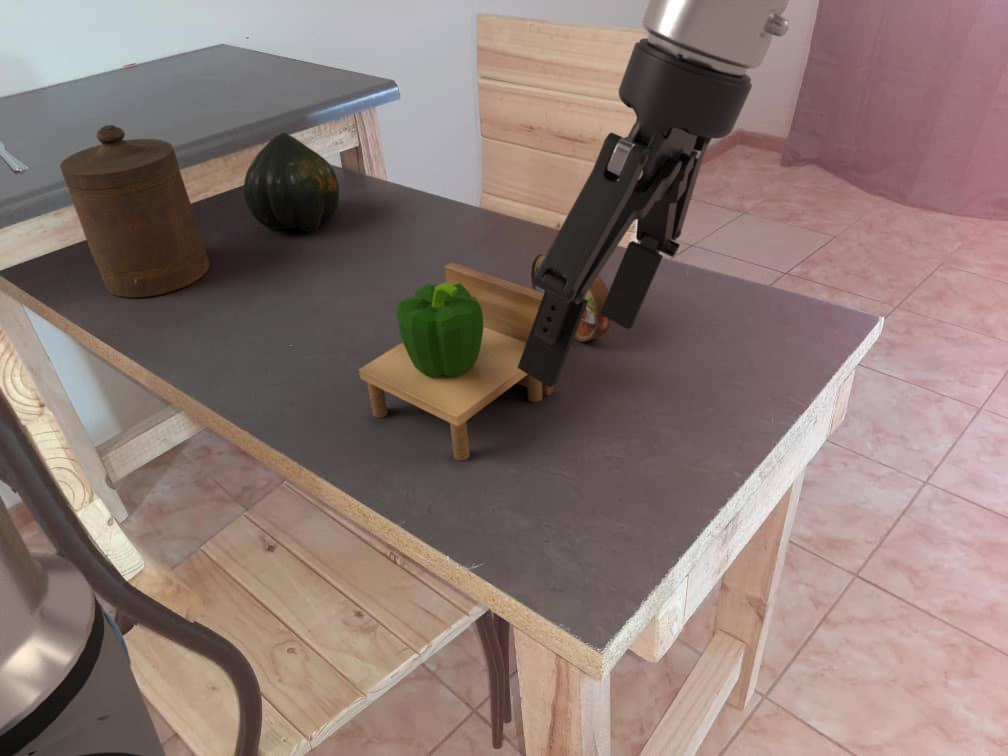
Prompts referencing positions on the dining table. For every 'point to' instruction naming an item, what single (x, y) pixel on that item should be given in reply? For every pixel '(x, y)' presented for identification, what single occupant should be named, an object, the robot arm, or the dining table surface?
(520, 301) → the miniature wooden chair
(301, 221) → the squash
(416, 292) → the bell pepper
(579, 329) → the tin
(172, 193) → the wooden container
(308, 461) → the dining table surface
